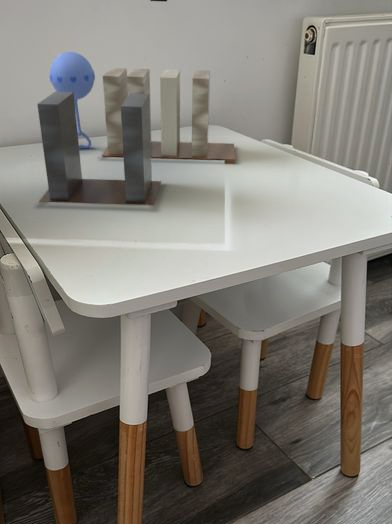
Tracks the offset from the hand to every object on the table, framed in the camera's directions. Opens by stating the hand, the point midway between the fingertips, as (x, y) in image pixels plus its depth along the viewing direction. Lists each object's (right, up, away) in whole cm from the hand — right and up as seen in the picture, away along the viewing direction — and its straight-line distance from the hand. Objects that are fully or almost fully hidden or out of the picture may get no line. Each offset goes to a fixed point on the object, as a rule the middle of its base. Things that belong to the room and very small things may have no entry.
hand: (162, 0), depth 98 cm
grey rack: (-9, -36, -5) cm, 38 cm away
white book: (+1, -20, +16) cm, 26 cm away
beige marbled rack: (+1, -21, +17) cm, 27 cm away
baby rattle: (-18, -20, +19) cm, 33 cm away
